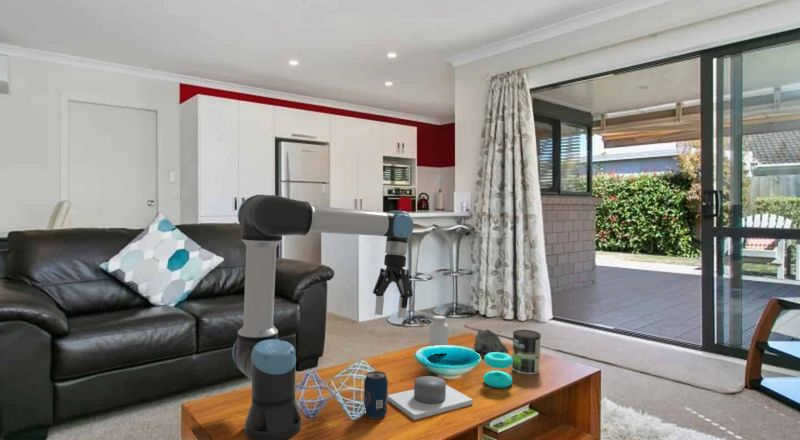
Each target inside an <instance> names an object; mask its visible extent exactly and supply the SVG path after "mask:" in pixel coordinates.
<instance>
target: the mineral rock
mask: <svg viewBox="0 0 800 440" xmlns="http://www.w3.org/2000/svg"><path fill="white" fill-rule="evenodd" d="M474 350H475V351H477V352H476V353H481V354H488V353H491V352H501V353H505V354H508V353H509V352H510V350H509V349H508V348H507V346H506V344H504V343H503V342H502V341H501V339H500V337H499V336H498V335H497V334H496V333H495V332H493V331H491V330H490V329H485V330H481V329H480V330H478V331H477V334H476V336H475V339H474V344H473V351H474ZM475 351H474V352H475Z"/></svg>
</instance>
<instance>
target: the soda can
mask: <svg viewBox="0 0 800 440" xmlns="http://www.w3.org/2000/svg"><path fill="white" fill-rule="evenodd" d="M365 376H366V377H365V379H364V385H363V387H364V388H363V389H364V391H363V393H364V394H363V396H364V397H363V406H364V405H365V408H366V414H365V416H366V417H367V418H369V419H380V418H384V417H385V415H386V414H387V412H388V400H387V395H389V394H388V388H389V387H388V385H389V384H388V383H389V381H388V377H387V375H386V373H385V372H382V371H376V370H374V371H370V372H368V373H366V375H365Z"/></svg>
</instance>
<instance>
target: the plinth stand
mask: <svg viewBox="0 0 800 440" xmlns="http://www.w3.org/2000/svg"><path fill="white" fill-rule="evenodd" d="M413 383H414V384H413V389H409V390H404V391H399V392H396V393H391V394H387V402H389V403H390V404H392V405H393V406H395V407H396V408H397V409H399V410H400V411H402V412H403V413H404V414H405V415H407V416H408V417H409V418H411V419H412V420H413V421H416V420H420V419H423V418H427V417H431V416H435V415H439V414H442V413H446V412H450V411H452V410H458V409H461V408H464V407H468V406H472V405H474V400H473V399H472V398H471V397H470V396H467V395H465V394H464V393H462V392H460V391H459V390H457V389H454V388H453V387H451V386H450V385H447V382H446V380H445V379H443V378H441V377H438V376H434V375H433V376H432V375H427V376H426V375H425V376H419V377H417V378H415V379H414V381H413Z"/></svg>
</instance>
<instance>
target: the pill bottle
mask: <svg viewBox="0 0 800 440" xmlns="http://www.w3.org/2000/svg"><path fill="white" fill-rule="evenodd" d="M446 320H447V319H446V316H444V315H433V316H432V322H431V323H429V328H428V329H429V333H428V335H429V336H428V347H429V346H434V345H448V346H449V325H448V323H446Z"/></svg>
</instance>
